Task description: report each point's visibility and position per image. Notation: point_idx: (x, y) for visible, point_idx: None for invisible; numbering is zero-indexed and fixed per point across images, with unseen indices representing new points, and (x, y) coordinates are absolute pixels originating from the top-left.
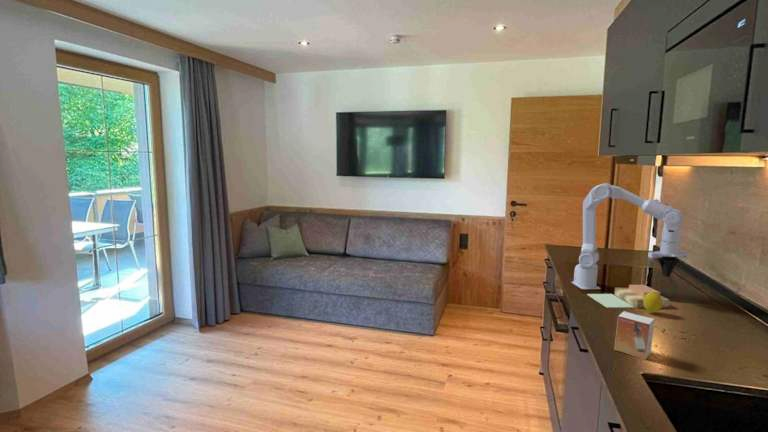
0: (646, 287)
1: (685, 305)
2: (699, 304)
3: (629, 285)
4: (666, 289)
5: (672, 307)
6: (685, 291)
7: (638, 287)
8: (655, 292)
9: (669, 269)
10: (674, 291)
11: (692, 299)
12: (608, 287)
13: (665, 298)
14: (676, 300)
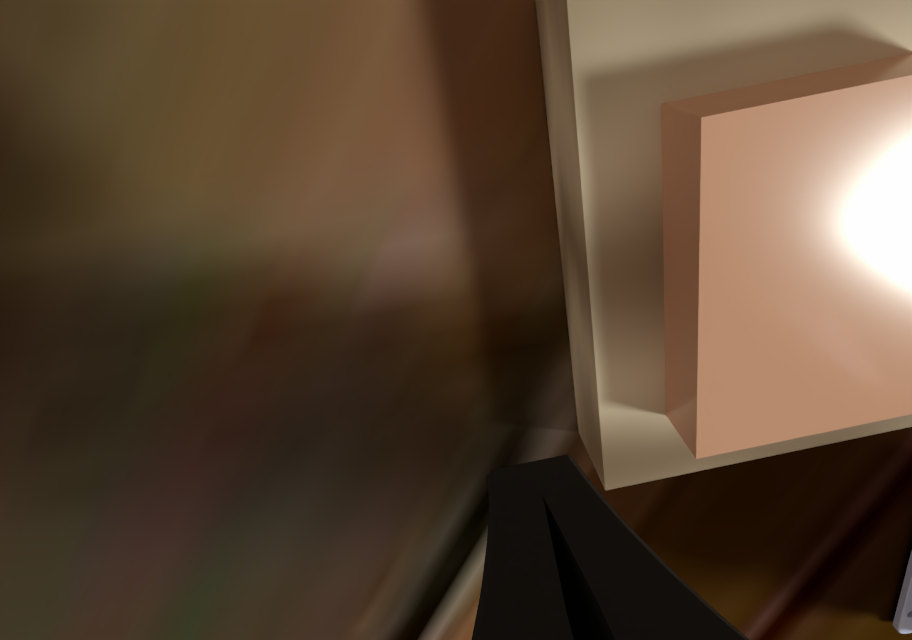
0: (750, 345)
1: (250, 154)
2: (43, 232)
3: (909, 401)
4: (252, 623)
5: (471, 31)
6: (74, 614)
7: (875, 319)
8: (786, 101)
9: (607, 604)
10: (192, 590)
11: (77, 398)
12: (798, 554)
13: (590, 76)
14: (289, 325)
